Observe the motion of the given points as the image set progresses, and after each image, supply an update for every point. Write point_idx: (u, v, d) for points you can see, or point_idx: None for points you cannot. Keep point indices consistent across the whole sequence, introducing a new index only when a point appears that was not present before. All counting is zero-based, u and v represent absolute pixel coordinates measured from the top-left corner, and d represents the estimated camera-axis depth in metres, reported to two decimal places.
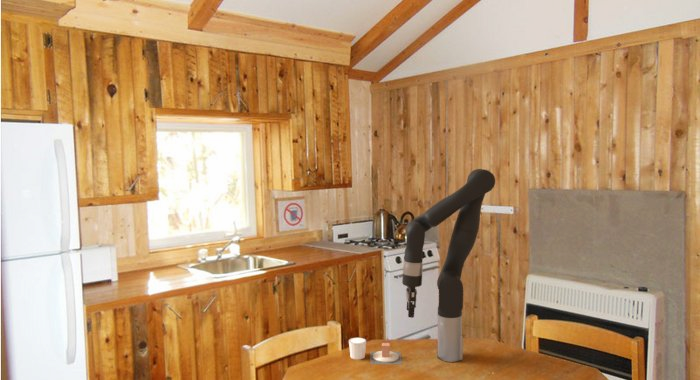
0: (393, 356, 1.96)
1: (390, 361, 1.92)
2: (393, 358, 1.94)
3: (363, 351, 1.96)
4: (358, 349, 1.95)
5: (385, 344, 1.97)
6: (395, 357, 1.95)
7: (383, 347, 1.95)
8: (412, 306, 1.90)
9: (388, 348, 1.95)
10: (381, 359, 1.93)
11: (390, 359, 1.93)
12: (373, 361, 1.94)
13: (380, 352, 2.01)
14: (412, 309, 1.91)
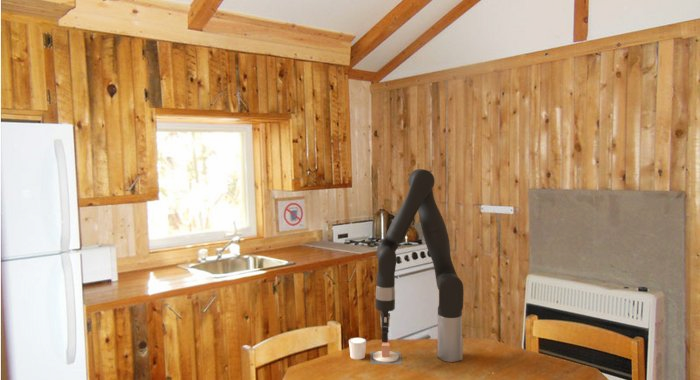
0: (393, 356, 1.96)
1: (390, 361, 1.92)
2: (393, 358, 1.94)
3: (363, 351, 1.96)
4: (358, 349, 1.95)
5: (385, 344, 1.97)
6: (395, 357, 1.95)
7: (383, 347, 1.95)
8: (385, 331, 1.89)
9: (388, 348, 1.95)
10: (381, 359, 1.93)
11: (390, 359, 1.93)
12: (373, 361, 1.94)
13: (380, 352, 2.01)
14: (385, 334, 1.91)
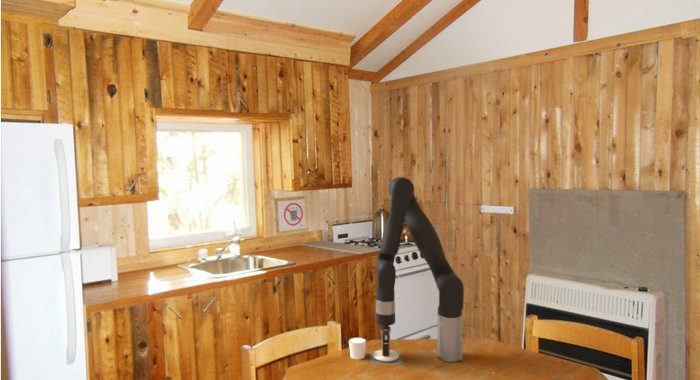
0: (393, 355, 1.96)
1: (390, 360, 1.92)
2: (393, 357, 1.94)
3: (363, 351, 1.96)
4: (358, 349, 1.95)
5: (385, 343, 1.97)
6: (395, 356, 1.95)
7: None
8: (386, 346, 1.92)
9: None
10: (381, 358, 1.93)
11: (390, 358, 1.93)
12: (373, 361, 1.94)
13: (380, 350, 2.01)
14: (386, 348, 1.94)
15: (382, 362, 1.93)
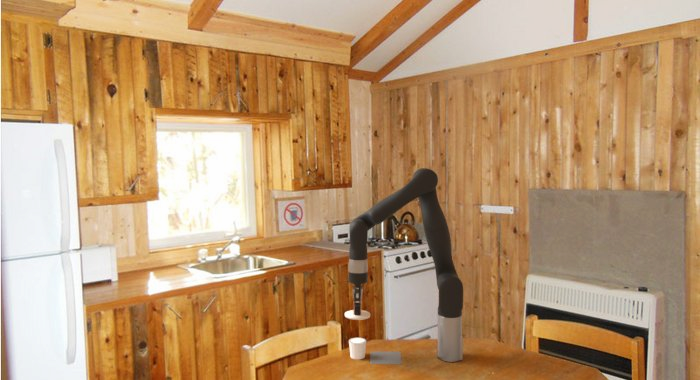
0: (365, 314, 1.96)
1: (361, 318, 1.93)
2: (364, 316, 1.94)
3: (363, 351, 1.96)
4: (358, 349, 1.95)
5: None
6: (366, 315, 1.95)
7: None
8: (357, 304, 1.92)
9: (360, 306, 1.95)
10: (352, 316, 1.94)
11: (361, 316, 1.94)
12: (373, 361, 1.94)
13: (352, 310, 2.01)
14: (358, 307, 1.94)
15: (382, 362, 1.93)
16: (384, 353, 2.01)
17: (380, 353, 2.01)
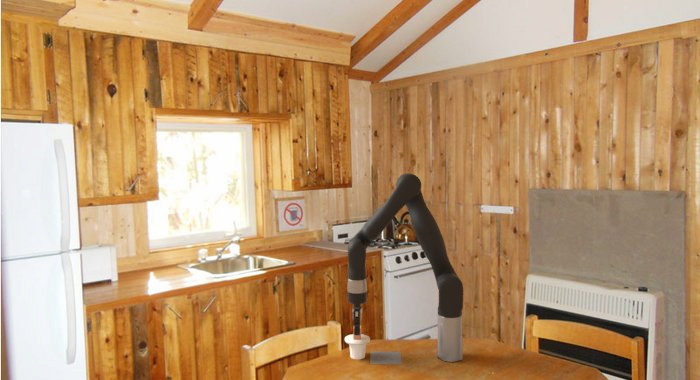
0: (364, 339, 1.97)
1: (361, 343, 1.93)
2: (364, 340, 1.95)
3: (363, 351, 1.96)
4: (358, 349, 1.95)
5: None
6: (366, 340, 1.96)
7: None
8: (357, 324, 1.92)
9: None
10: (352, 341, 1.94)
11: (361, 341, 1.94)
12: (373, 361, 1.94)
13: (352, 335, 2.02)
14: (357, 327, 1.93)
15: (382, 362, 1.93)
16: (384, 353, 2.01)
17: (380, 353, 2.01)
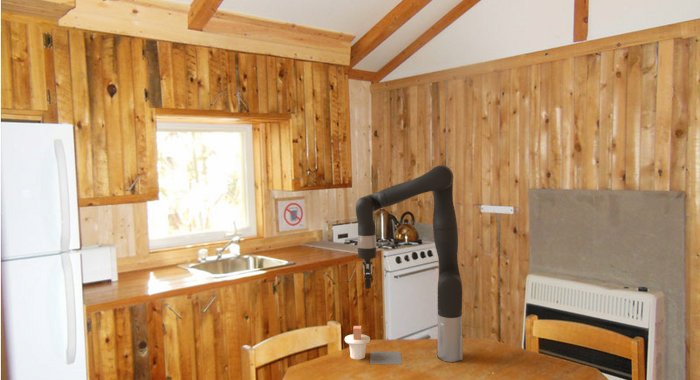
0: (364, 339, 1.97)
1: (361, 343, 1.93)
2: (364, 341, 1.95)
3: (363, 351, 1.96)
4: (358, 349, 1.95)
5: (357, 327, 1.98)
6: (366, 340, 1.96)
7: (354, 330, 1.96)
8: (368, 277, 1.97)
9: (359, 331, 1.96)
10: (352, 341, 1.94)
11: (361, 341, 1.94)
12: (373, 361, 1.94)
13: (352, 335, 2.02)
14: (368, 280, 1.98)
15: (382, 362, 1.93)
16: (384, 353, 2.01)
17: (380, 353, 2.01)
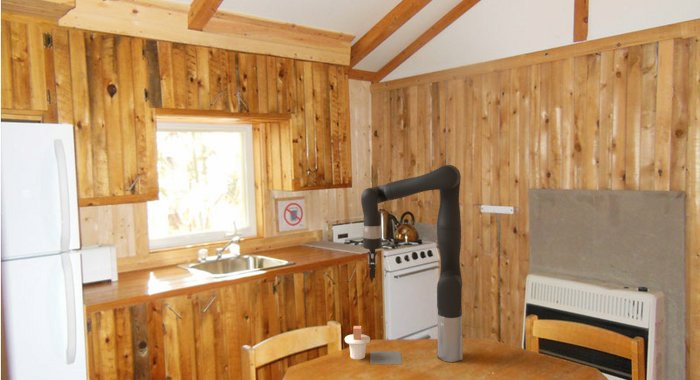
0: (364, 339, 1.97)
1: (361, 343, 1.93)
2: (364, 341, 1.95)
3: (363, 351, 1.96)
4: (358, 349, 1.95)
5: (357, 327, 1.98)
6: (366, 340, 1.96)
7: (354, 330, 1.96)
8: (372, 267, 2.00)
9: (359, 331, 1.96)
10: (352, 342, 1.94)
11: (361, 342, 1.94)
12: (373, 361, 1.94)
13: (352, 335, 2.02)
14: (373, 270, 2.02)
15: (382, 362, 1.93)
16: (384, 353, 2.01)
17: (380, 353, 2.01)
